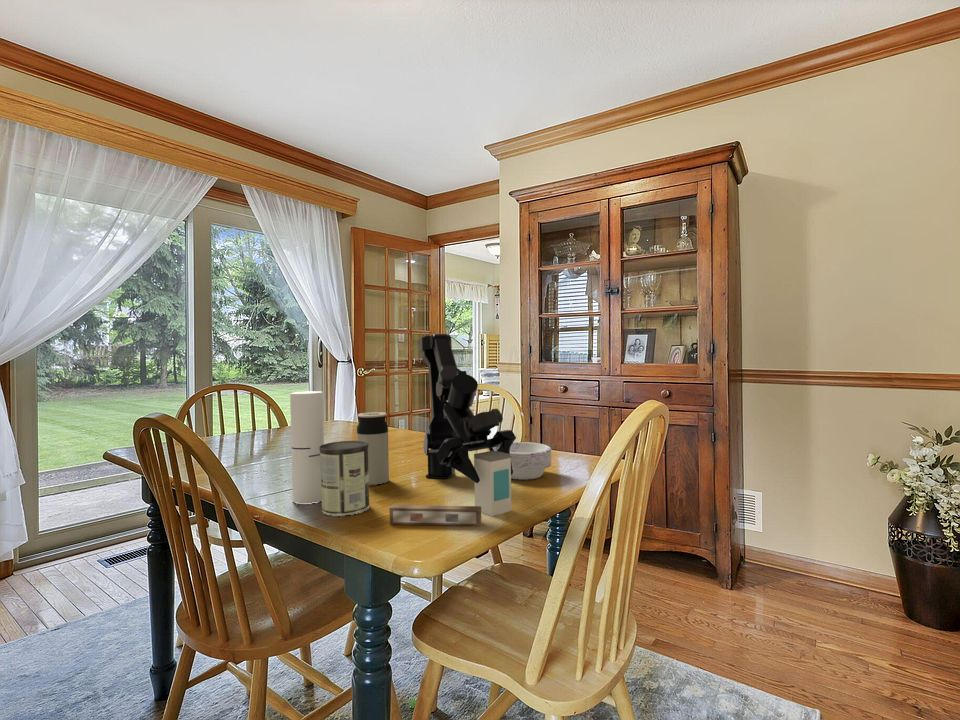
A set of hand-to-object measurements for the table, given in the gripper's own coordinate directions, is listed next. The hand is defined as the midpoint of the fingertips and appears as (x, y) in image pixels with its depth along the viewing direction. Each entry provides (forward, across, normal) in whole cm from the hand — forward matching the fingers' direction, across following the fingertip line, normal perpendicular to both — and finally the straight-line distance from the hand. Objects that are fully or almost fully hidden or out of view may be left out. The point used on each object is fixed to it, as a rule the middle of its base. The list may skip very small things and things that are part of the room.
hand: (495, 478), depth 105 cm
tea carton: (+4, 0, +6) cm, 7 cm away
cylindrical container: (-20, -27, +30) cm, 45 cm away
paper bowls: (-8, +25, +18) cm, 32 cm away
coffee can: (-11, -23, +21) cm, 34 cm away
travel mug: (-23, -8, +33) cm, 41 cm away
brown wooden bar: (+3, -14, +7) cm, 16 cm away
